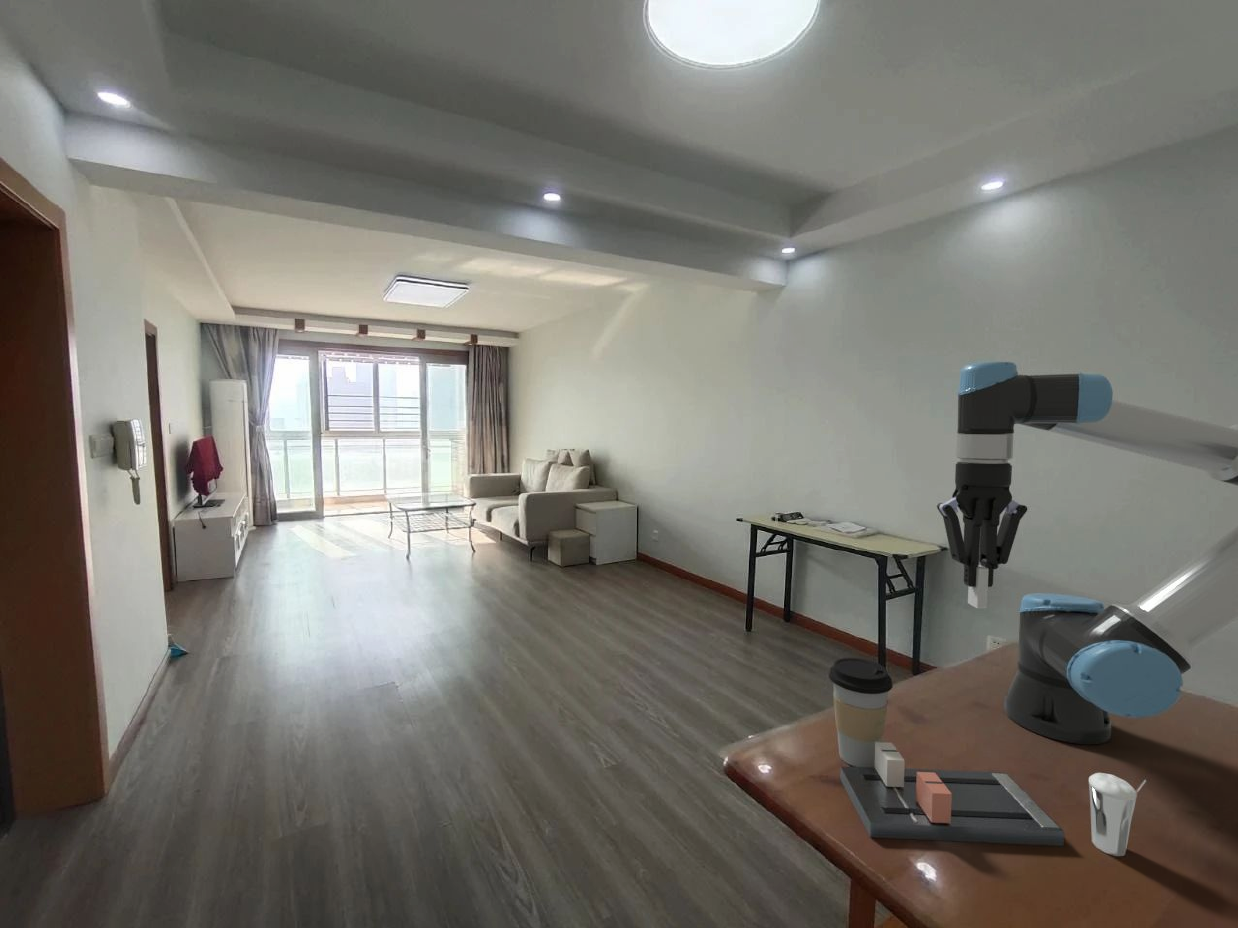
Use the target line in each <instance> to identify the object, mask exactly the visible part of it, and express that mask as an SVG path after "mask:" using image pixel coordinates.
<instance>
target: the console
mask: <svg viewBox="0 0 1238 928" xmlns="http://www.w3.org/2000/svg"><path fill="white" fill-rule="evenodd" d="M839 769H840V772H839V773H840V777H839V779H840V781H841V783H842V785H843V787H844V789H845V791H846V793H847V795H848V798H849V799H850V801H851V802H852V804H853V807H854V808H855V811H856V812H857V815H858V816H859V818H860V820H861V822H862V824H863V826H864V828H865V830H866V832H867V835H868V836H869V837H870V838H874V839H875V838H876V839H878V838H880V839H895V840H896V839H899V840H920V841H921V840H922V841H941V842H942V841H944V842H964V843H965V842H969V843H987V844H988V843H990V844H1012V845H1031V846H1032V845H1033V846H1054V847H1056V846H1057V847H1063V846H1064V839H1065V831H1064V830H1063V829H1062V827H1060V826H1059V824H1057V822H1056V821H1054V819H1052V818H1051V816H1049V815H1048V813H1046V812H1045V811H1044V809H1043V808H1042V807H1041V806H1040V805H1038V803H1037V802H1035V801H1034V799H1033V798H1031V797H1030V795H1029V794H1027V792H1026V791H1024V789H1023V788H1022V787H1021V786H1020V785H1019V784H1017V782H1016V781H1015V780H1014V779H1013V778H1012V777H1011V776H1009V774H1008V773H1007V772H1003V771H979V770H978V771H976V770H950V769H949V770H947V769H923V768H922V769H921V768H920V769H919V768H904V787H887V786H886V785H885V783H884V782H883V780H882V779H881V777H880V775H879V774H878V772H877V771H876V769H875V767H855V766H844V765H841V766H840V768H839ZM917 772H932V773H936V775H937V776H938V777H939V778H940V780H941V781H942V782H943V783H944V785H945V786H946V787H947V789H948V790H949V791H950V792H951V794H952V801H951V823H933V822H931V821H930V820H929V818H928V817H927V815H926V814H925V812H924V811H923V809H922V808H921V806H920V805H919V804H918V802H917V801H916V780H917Z"/></svg>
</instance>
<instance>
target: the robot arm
mask: <svg viewBox="0 0 1238 928" xmlns="http://www.w3.org/2000/svg"><path fill="white" fill-rule="evenodd" d="M957 390H958V391H957V431H956V432H957V433H956V448H955V449H956V452H955V453H956V455H955V457H956V458H957V459H960V460H959V461H957V462H956V463H955V474H954V476H955V477H954V482H955V489H954V490H953V493H952V497H951V499H949V500H947V501H945V502H944V503H943V502H939V503H938V504H937V505H936V509H937V511H938V512H939V513H940V515H941V516H942V518H943V523H944V528H945V532H946V536H947V537H946V539H947V543H948V547H949V551H950V555H951V556H950V557H951V559H952V560H953V561H955V562H958V563H960V564H962V565H963V566H964V567H963V584H964V585H966V586H967V587H968V590H967V592H968V593H967V604H969V605H970V606H972V607H974V608H976V609H977V610H979V609H983V610H984V609H988V591H989V589H988V588H991V587H993V584H994V570H997V569H998V568H999V565H1007V563H1008V561H1009V558H1010V555H1011V551H1012V549H1013V545H1014V542H1015V538H1016V535H1017V531H1018V528H1019V524H1020V521H1021V519H1022V518H1023V517H1024V516H1025V514H1026V513H1027V512H1028V506H1026V505H1024V504H1019V502H1017V501H1016V500H1013V495H1012V493H1011V491H1010V487H1011V484H1012V472H1013V465H1011V463H1009V460H1012V459H1013V457H1014V455H1013V453H1014V433H1015V425H1022V426H1026V427H1030V428H1034V429H1038V430H1044V431H1048V432H1050V433H1051V432H1052V433H1056V434H1060V435H1064V436H1067V437H1070V438H1071V437H1072V438H1075V439H1079V440H1083V441H1087V442H1090V443H1096V444H1099V445H1103V446H1107V447H1110V448H1115V449H1118V450H1123V451H1126V452H1131V453H1135V454H1139V455H1142V456H1147V457H1150V458H1154V459H1158V460H1162V461H1166V462H1170V463H1174V464H1177V465H1181V466H1186V467H1190V468H1194V469H1197V470H1202V471H1204V472H1205V474H1206V475H1207V476H1208V477H1209V478H1211V479H1213V480H1215V481H1219V482H1222V483H1226V484H1230V485H1234V486H1237V487H1238V423H1237V424H1233V425H1230V426H1225V425H1220V424H1218V423H1217V424H1215V423H1213V422H1209V421H1207V422H1206V421H1203V420H1199V419H1193V418H1191V417H1188V416H1187V417H1186V416H1185V417H1184V416H1182V415H1177V414H1174V413H1173V414H1172V413H1169V412H1164V411H1160V410H1156V409H1152V408H1148V407H1144V406H1143V407H1142V406H1138V405H1136V404H1135V405H1134V404H1130V403H1126V402H1122V401H1118V400H1114V399H1113V395H1114V394H1113V387H1112V384H1111V382H1110V381H1109V379H1108V378H1107V377H1106V376H1104V375H1102V374H1099V373H1082V372H1078V373H1062V374H1061V373H1060V374H1055V373H1054V374H1038V375H1037V374H1036V375H1027V374H1019V372H1018V367H1017V365H1016V363H1015V362H1011V361H985V362H976V363H970V364H967V365H965V366H963V368H962V369H961V371H960V374H959V380H958V389H957ZM959 510H960V512H961V513H962V521H963V523H964V524H963V525H964V526H963V533H962V528H961V523H960V519H959V516H958V515H957V513H959ZM1003 512H1004V513H1003ZM1002 513H1003V514H1002ZM1001 514H1002V518H1001ZM1000 519H1001V520H1000ZM1000 521H1001V522H1000ZM998 527H999V528H998ZM1018 613H1019V627H1018V628H1019V630H1018V631H1019V632H1018V651H1017V652H1018V656H1017V657H1018V658H1017V671H1016V673H1015V676H1014V678H1013V679H1012V681H1011V684H1010V686H1009V688H1008V691H1007V692H1006V694H1005V697H1004V707H1003V708H1004V712H1005V714H1006V716H1007V717H1008V718H1010V719H1011V720H1012V721H1013V722H1014V723H1016V724H1018V725H1019V726H1020V727H1023V728H1025V729H1026V730H1029V731H1031V732H1033V733H1036V734H1038V735H1040V736H1044V737H1046V738H1048V739H1049V738H1050V739H1053V740H1056V741H1060V742H1065V743H1071V744H1077V745H1100V744H1104V743H1106V742H1108V741H1109V740H1110V739H1111V736H1112V722H1111V718H1110V717H1109V714H1111V715H1115V716H1119V717H1123V718H1124V717H1125V718H1131V719H1133V718H1134V719H1140V718H1141V719H1143V718H1148V717H1153V716H1157V715H1160V714H1162V713H1164V712H1166V711H1167V710H1169V709H1170V708H1172V707H1173V706H1174V705H1175V704H1176V703H1177V701H1178V700H1179V699H1180V697H1181V695H1182V691H1181V687H1183V685H1184V681H1183V680H1184V679H1183V677H1182V675H1183V674H1185V673H1186V672H1187V671H1189V670H1190V669H1192V667H1193V665H1194V664H1193V657H1192V652H1193V651H1194V650H1195V649H1196V648H1198V647H1199V646H1201V645H1203V644H1204V643H1205V642H1207V641H1208V640H1210V639H1211V638H1212V637H1214V636H1215V635H1217V634H1219V632H1221V631H1223V630H1224V629H1226V627H1228V626H1229V625H1231V624H1232V623H1233V622H1235V621H1237V620H1238V526H1235V528H1233V529H1232V530H1230V531H1229V532H1228V533H1227V534H1225V535H1223V537H1221V538H1220V539H1219V540H1217V541H1216V542H1214V543H1213V544H1212V545H1210V546H1209V547H1207V548H1206V549H1205V550H1204V551H1202V552H1201V553H1199V554H1198V555H1196V556H1195V557H1194V558H1193V559H1191V560H1190V561H1189V562H1187V563H1186V564H1185V565H1183V566H1182V567H1180V568H1179V569H1178V570H1176V571H1175V572H1174V573H1172V574H1171V575H1169V576H1168V577H1167V578H1166V579H1164V580H1163V581H1161V582H1160V583H1159V584H1157V585H1156V586H1154V587H1153V588H1152V589H1150V590H1149V591H1148V592H1146V593H1145V594H1143V595H1142V596H1141V597H1140V598H1138V599H1137V600H1136V601H1134V602H1133V603H1130V604H1122V603H1121V604H1120V603H1112V604H1110V605H1108V606H1107V607H1105V605H1104V604H1103V603H1102V602H1101V601H1098V600H1096V599H1093V598H1092V599H1091V598H1087V597H1082V596H1077V595H1076V596H1075V595H1069V594H1059V593H1047V592H1046V593H1044V592H1043V593H1041V592H1038V593H1037V592H1035V593H1029V594H1025V595H1024V596H1023V597H1022V599H1021V603H1020V609H1019V612H1018Z"/></svg>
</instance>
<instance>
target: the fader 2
mask: <svg viewBox="0 0 1238 928" xmlns="http://www.w3.org/2000/svg"><path fill="white" fill-rule="evenodd" d="M916 801H917V802H918V804H919V805H920V806H921V808H922V809H923V811H924V812H925V814H926V815H927V817H928V818H929V820H930V821H931V822H933V823H951V801H952V794H951V792H950V791H949V790H948V789H947V787H946V786H945V785H944V783H943V782H942V781H941V780H940V778H939V777H938V776H937V775H936V773H932V772H917V780H916Z"/></svg>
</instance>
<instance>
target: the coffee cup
mask: <svg viewBox="0 0 1238 928" xmlns="http://www.w3.org/2000/svg"><path fill="white" fill-rule="evenodd" d="M828 678H829V680H830V681H831V682H832V683H833V707H834V718H835V720H834V721H835V727H836V731H837V733H836V734H837V744H838V753H839V754H838V755H839V758H840V759H841V760H842V761H843V762H844V763H846V764H848V765H850V766H851V767H873V768H875V742H882V739H883V736H884V733H885V726H886V725H885V724H886V718H887V711H888V704H889V700H888V696H889V692H890V691H891V690H892V689H893V687H894V685H893V680H892V677H891V676H890V675H889V674H888V670H887V669H886V667H884V666H883V665H882V664H880V663H877V662H875V661H872V660H870V659H865V658H860V657H843V658H839V659H836V660H835V661H834V664H833V666H831V667H830V669H829V672H828Z"/></svg>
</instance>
